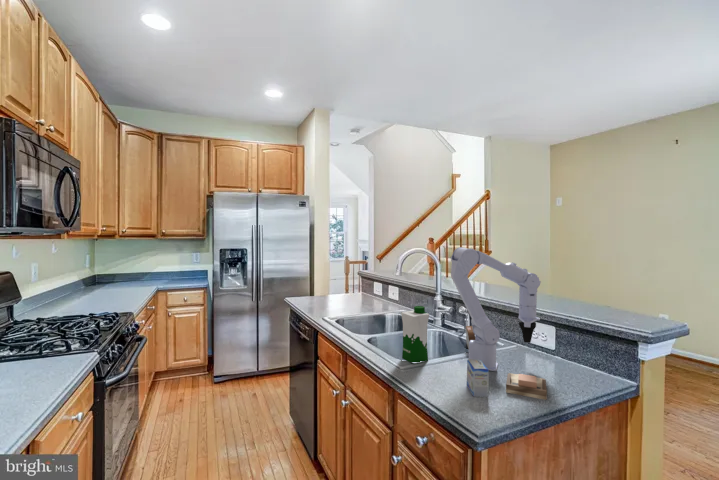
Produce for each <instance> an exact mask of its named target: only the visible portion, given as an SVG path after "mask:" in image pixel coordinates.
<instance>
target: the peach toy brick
mask: <svg viewBox="0 0 719 480" xmlns="http://www.w3.org/2000/svg"><path fill="white" fill-rule="evenodd" d="M518 375H519V376H518V385H520V386H526V387H531V388H537V380H536V378H537V376H536V375H531V374H530V375H529V374H524V373H523V374H522V373H518Z"/></svg>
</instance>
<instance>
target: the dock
mask: <svg viewBox="0 0 719 480" xmlns="http://www.w3.org/2000/svg"><path fill="white" fill-rule="evenodd" d="M518 376H519V373H518V374H516V373H510V372H509V373H507V377H506V384H505V393H506V394H507V393H508V394H512V395H518V396H523V397H528V398H534V399H538V400H539V399H540V400H544V401H545V400H546V401H547V400H548V397H547V396H548V389H547V380H546V379H545V378H541V377H536V380H537V388H531V387H526V386H520V385H518Z"/></svg>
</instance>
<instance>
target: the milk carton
mask: <svg viewBox="0 0 719 480" xmlns="http://www.w3.org/2000/svg"><path fill="white" fill-rule="evenodd" d="M413 309H414V310H413ZM413 309H412V310H406V311H402V312H401V313H400V314H401V319H402V320H401V321H402V354H401V358H402V359H403V360H404V361H406V362H408V363H410V362H420V361H425V362H428V361H429V355H428V353H429V352H428V322H429V318H430V313H428V312H426V309H425V306H423V305H414V306H413Z"/></svg>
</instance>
